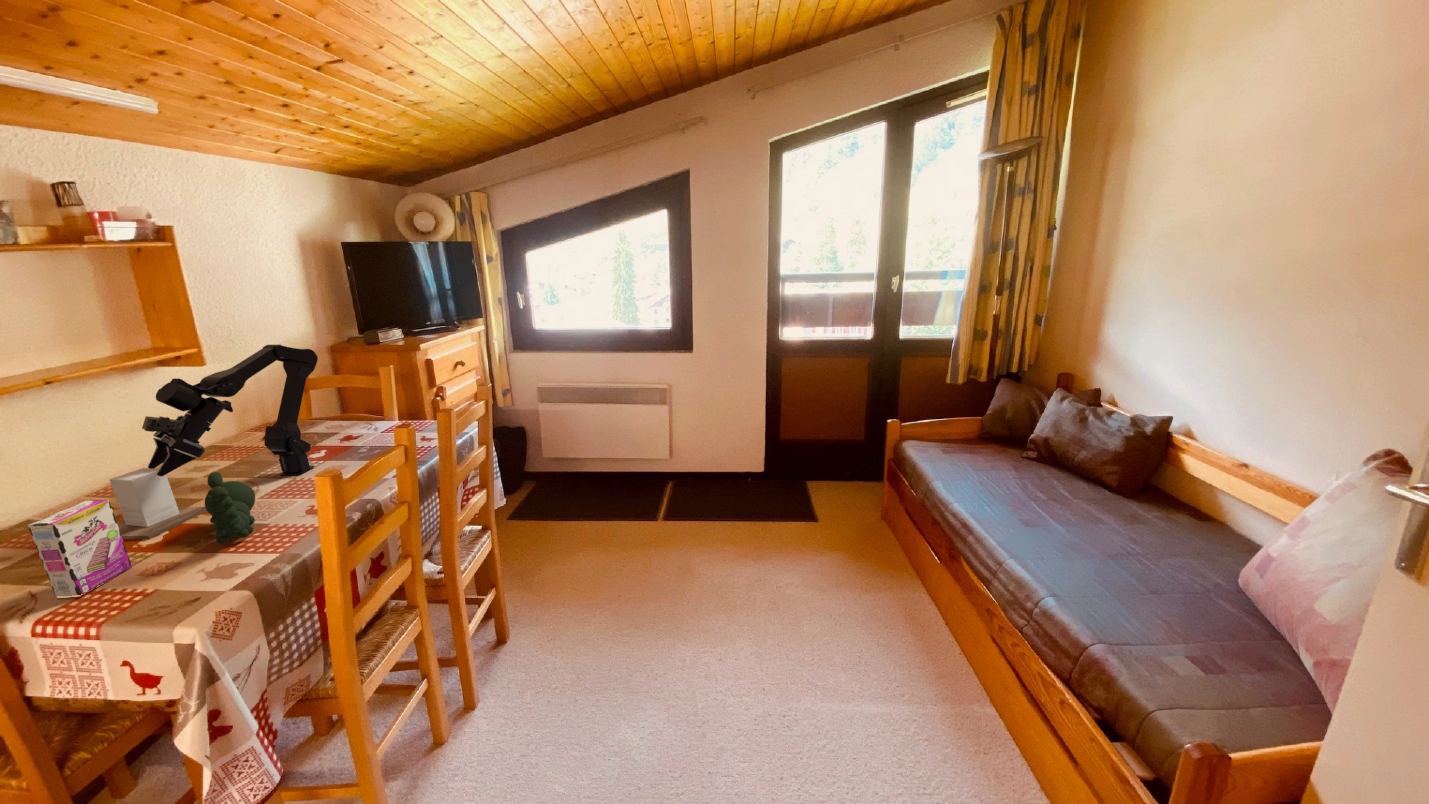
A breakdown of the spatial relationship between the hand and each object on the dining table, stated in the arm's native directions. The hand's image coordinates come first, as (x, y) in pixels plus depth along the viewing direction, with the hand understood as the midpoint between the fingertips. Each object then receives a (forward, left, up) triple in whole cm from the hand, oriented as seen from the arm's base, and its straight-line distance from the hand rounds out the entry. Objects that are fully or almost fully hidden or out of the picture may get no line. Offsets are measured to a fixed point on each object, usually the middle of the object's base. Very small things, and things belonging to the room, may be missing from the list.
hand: (154, 472), depth 137 cm
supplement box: (+2, +2, -12) cm, 13 cm away
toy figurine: (-24, +7, -13) cm, 28 cm away
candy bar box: (-13, +28, -13) cm, 34 cm away
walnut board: (+2, +3, -13) cm, 14 cm away
